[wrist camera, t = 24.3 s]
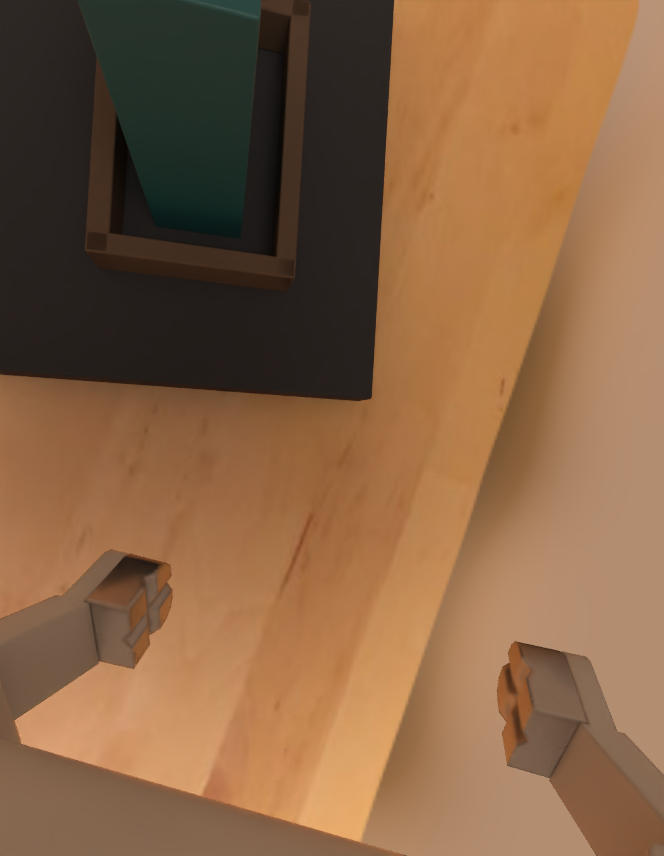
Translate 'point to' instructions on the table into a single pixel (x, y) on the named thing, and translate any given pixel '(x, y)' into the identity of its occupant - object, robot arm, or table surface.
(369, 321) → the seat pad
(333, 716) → the table surface
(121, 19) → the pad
